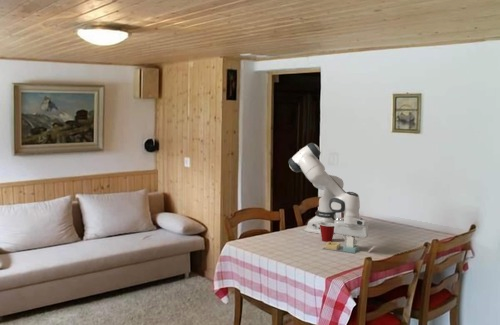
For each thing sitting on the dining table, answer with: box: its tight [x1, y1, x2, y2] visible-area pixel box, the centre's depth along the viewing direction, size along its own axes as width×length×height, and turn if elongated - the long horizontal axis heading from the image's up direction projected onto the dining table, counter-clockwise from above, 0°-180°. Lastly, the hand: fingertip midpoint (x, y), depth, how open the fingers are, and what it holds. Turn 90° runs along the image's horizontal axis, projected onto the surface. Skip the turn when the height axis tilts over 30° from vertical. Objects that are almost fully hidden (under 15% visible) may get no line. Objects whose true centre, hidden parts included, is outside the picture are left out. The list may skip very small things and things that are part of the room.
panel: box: [322, 241, 361, 255], centre depth 307 cm, size 20×12×4 cm, turn 62°
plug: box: [345, 235, 356, 248], centre depth 304 cm, size 4×4×9 cm
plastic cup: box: [319, 222, 335, 243], centre depth 325 cm, size 11×11×12 cm
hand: (350, 242), depth 304 cm, fingers closed on plug, 4 cm apart
